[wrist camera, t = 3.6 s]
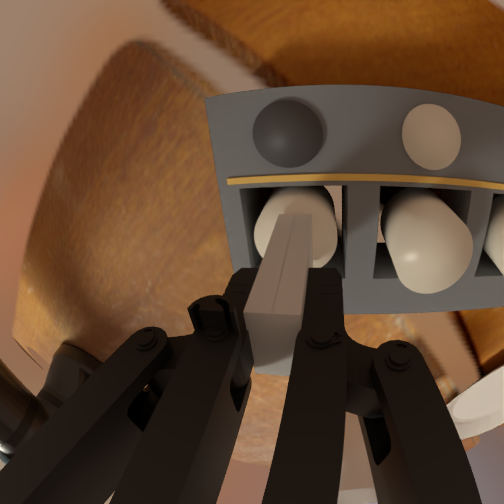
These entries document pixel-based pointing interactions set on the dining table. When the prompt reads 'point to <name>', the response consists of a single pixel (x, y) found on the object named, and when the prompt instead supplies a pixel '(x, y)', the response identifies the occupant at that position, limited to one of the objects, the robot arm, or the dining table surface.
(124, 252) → the dining table surface
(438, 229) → the button
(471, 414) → the plate
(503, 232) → the button
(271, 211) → the button
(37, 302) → the dining table surface
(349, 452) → the cup
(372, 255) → the board
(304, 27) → the dining table surface
